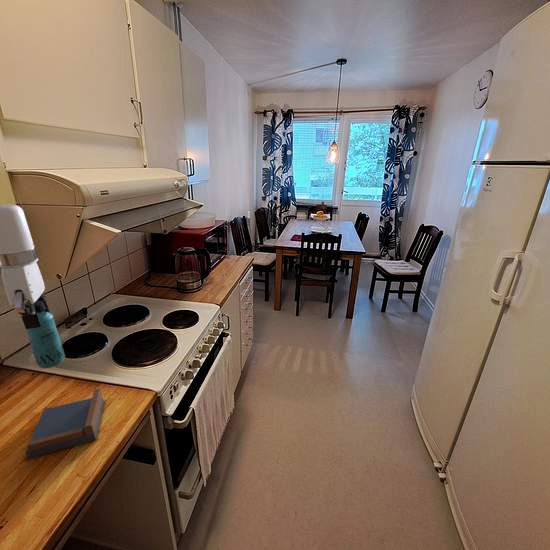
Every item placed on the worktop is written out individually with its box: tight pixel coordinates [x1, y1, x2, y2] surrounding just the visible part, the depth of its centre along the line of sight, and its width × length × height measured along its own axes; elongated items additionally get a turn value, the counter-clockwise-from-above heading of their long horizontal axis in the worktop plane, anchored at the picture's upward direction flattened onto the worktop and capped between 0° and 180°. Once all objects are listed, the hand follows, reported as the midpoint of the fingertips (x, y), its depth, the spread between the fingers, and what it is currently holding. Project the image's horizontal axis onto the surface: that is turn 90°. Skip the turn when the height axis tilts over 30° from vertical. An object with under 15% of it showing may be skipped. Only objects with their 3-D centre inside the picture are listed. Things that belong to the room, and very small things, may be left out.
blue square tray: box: [24, 387, 105, 459], centre depth 80 cm, size 15×14×6 cm
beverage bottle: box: [24, 301, 66, 369], centre depth 78 cm, size 6×7×20 cm
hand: (38, 320), depth 76 cm, fingers closed on beverage bottle, 6 cm apart
